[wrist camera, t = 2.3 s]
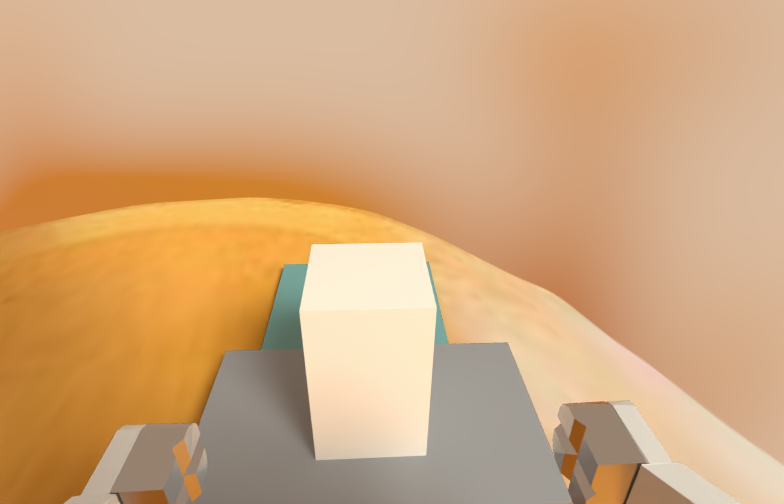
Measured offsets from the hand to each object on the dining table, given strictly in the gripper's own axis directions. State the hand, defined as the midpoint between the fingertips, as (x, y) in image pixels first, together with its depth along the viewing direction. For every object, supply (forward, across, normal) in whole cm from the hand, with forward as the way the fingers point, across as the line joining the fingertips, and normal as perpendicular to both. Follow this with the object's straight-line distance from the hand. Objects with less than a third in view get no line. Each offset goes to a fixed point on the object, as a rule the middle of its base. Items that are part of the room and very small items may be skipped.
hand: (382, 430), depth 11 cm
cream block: (+12, 0, +13) cm, 18 cm away
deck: (+12, 0, +15) cm, 20 cm away
